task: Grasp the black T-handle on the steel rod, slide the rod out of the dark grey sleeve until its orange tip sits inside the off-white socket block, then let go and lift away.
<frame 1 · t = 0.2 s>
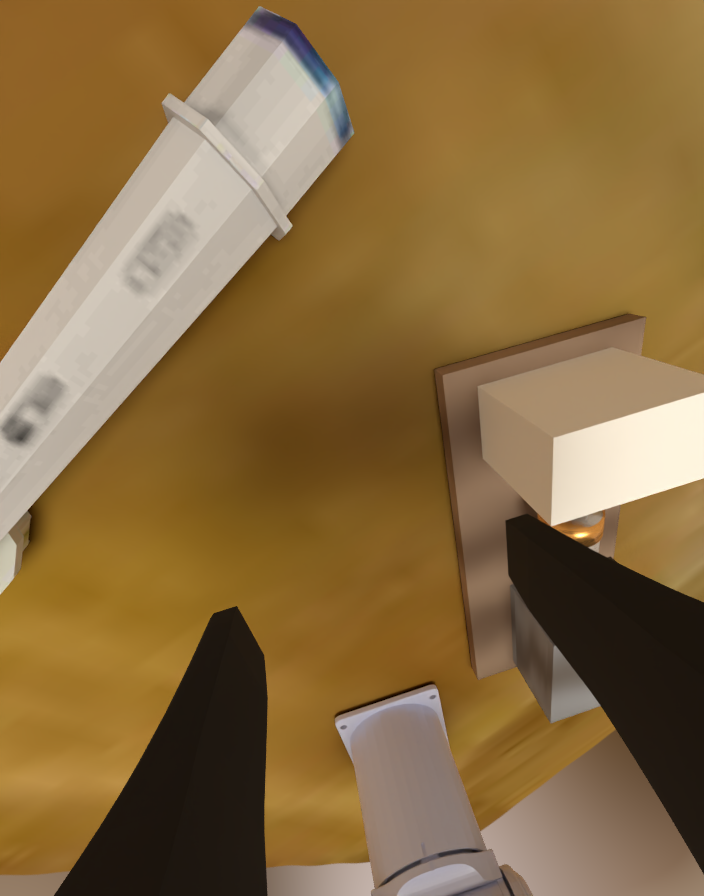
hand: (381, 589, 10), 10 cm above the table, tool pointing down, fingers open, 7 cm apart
track base: (533, 529, 25), on the table
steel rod: (593, 636, 21), point 6 cm above the table, slide at 0.0 cm
toothbrush head: (97, 365, 16), on the table
socket block: (533, 398, 21), resting on track base
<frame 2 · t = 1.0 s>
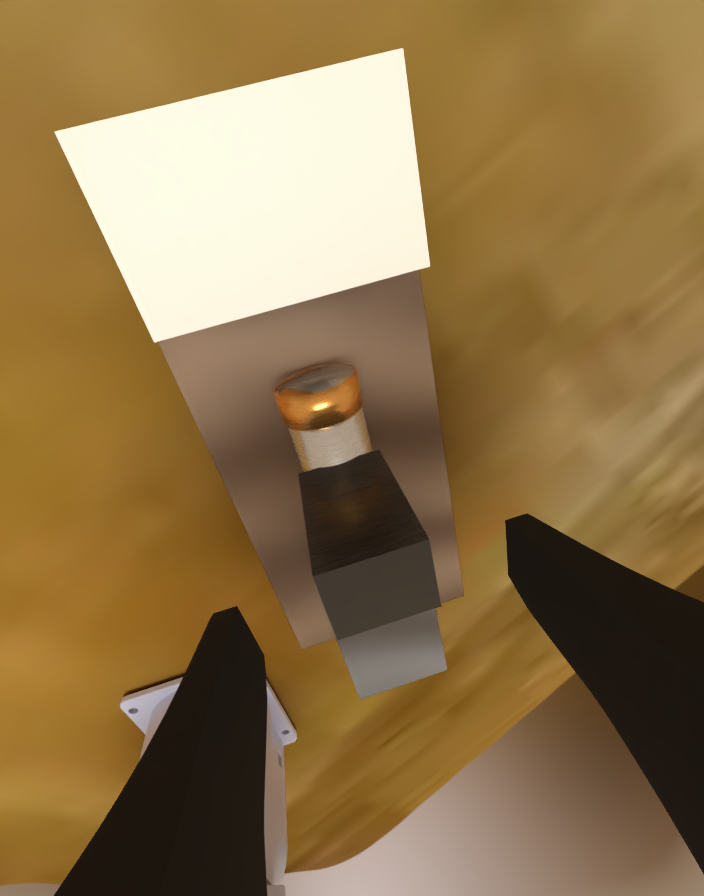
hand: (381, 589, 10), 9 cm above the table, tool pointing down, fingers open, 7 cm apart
track base: (330, 439, 19), on the table
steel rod: (370, 568, 15), point 6 cm above the table, slide at 0.0 cm
socket block: (266, 223, 14), resting on track base
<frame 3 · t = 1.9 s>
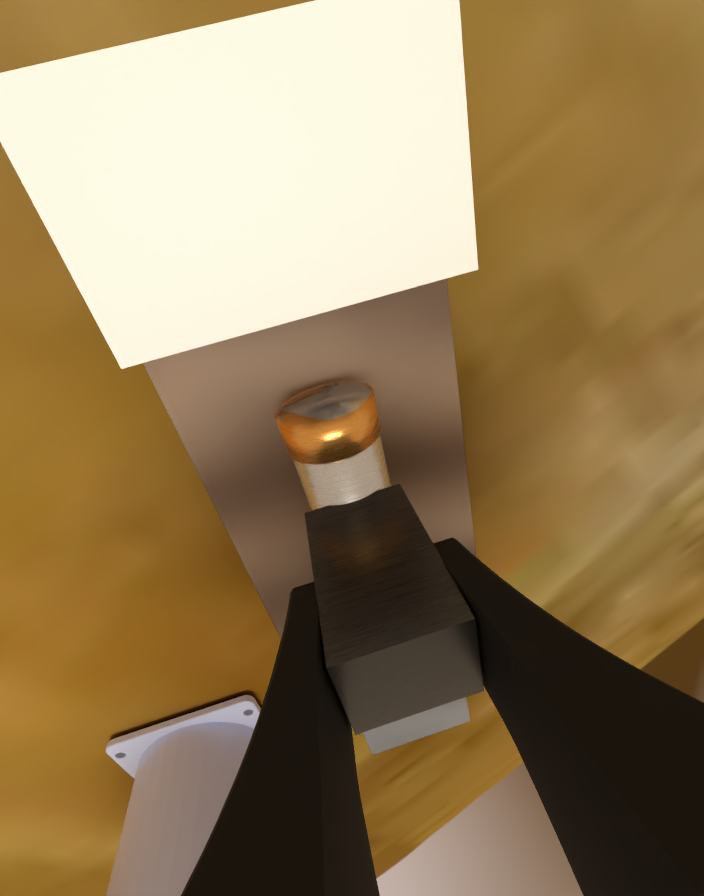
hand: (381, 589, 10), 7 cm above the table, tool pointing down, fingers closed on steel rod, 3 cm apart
track base: (339, 462, 16), on the table
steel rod: (388, 620, 13), point 6 cm above the table, slide at 0.0 cm, touching gripper
socket block: (267, 217, 12), resting on track base
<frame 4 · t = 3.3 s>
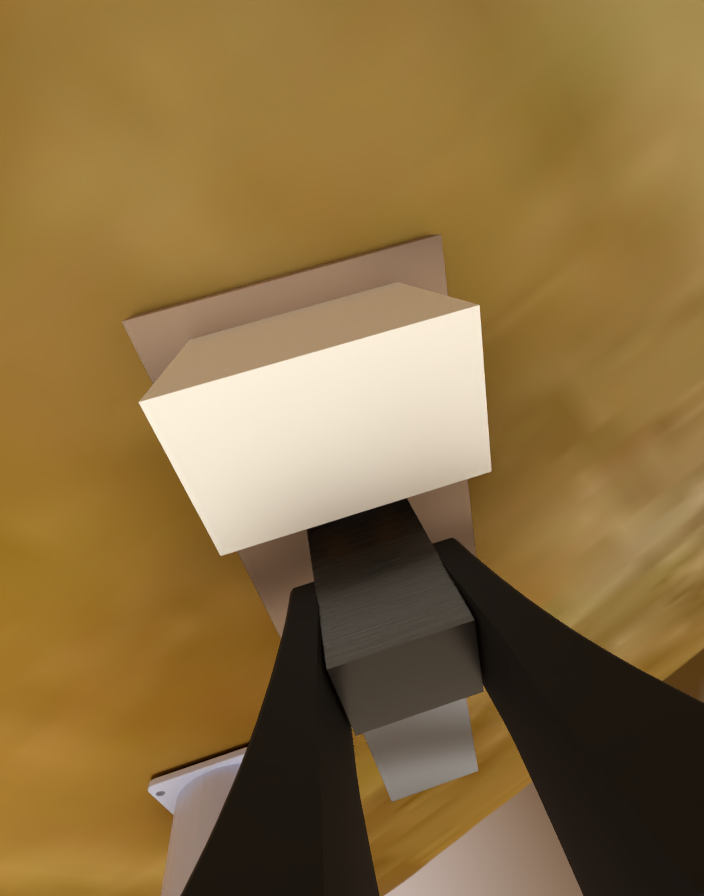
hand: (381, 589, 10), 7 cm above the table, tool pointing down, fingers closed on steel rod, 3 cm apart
track base: (362, 545, 19), on the table
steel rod: (388, 621, 13), point 6 cm above the table, slide at 4.6 cm, touching gripper
socket block: (309, 362, 14), resting on track base
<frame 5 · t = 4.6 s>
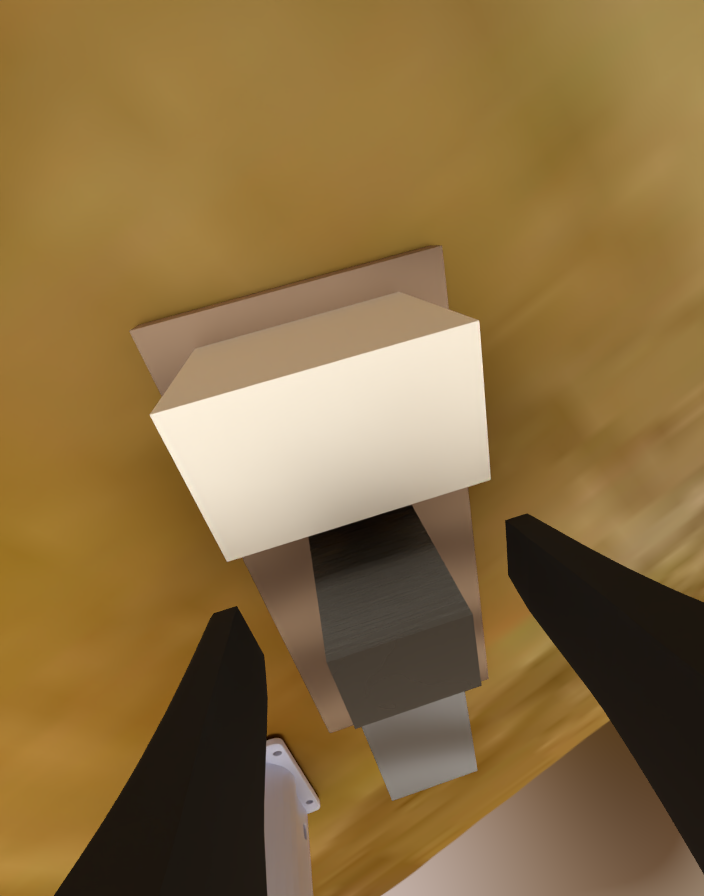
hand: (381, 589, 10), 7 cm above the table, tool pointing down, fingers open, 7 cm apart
track base: (364, 548, 19), on the table
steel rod: (387, 617, 13), point 6 cm above the table, slide at 4.9 cm
socket block: (312, 369, 15), resting on track base
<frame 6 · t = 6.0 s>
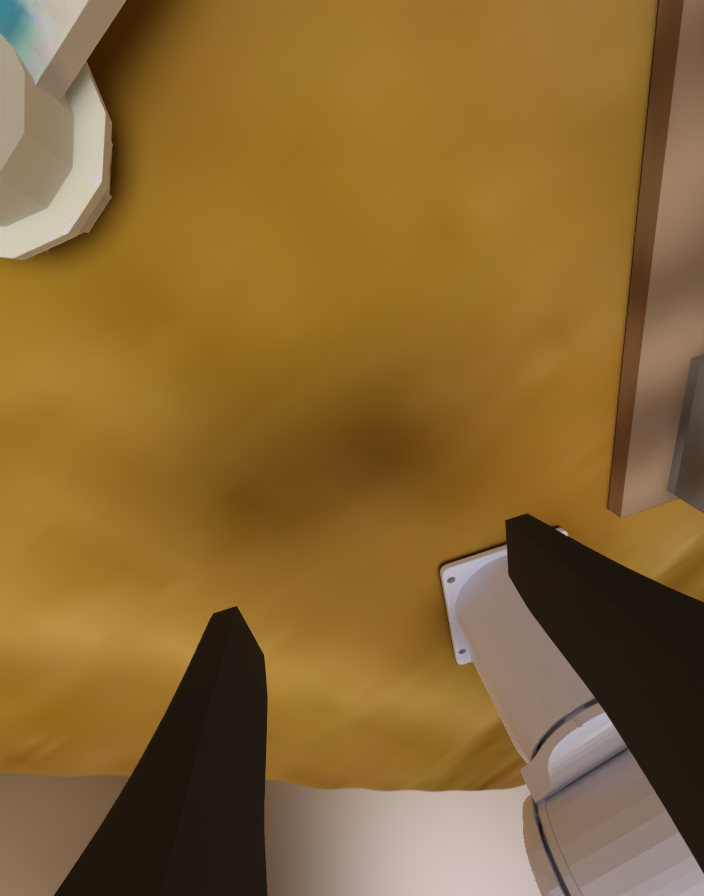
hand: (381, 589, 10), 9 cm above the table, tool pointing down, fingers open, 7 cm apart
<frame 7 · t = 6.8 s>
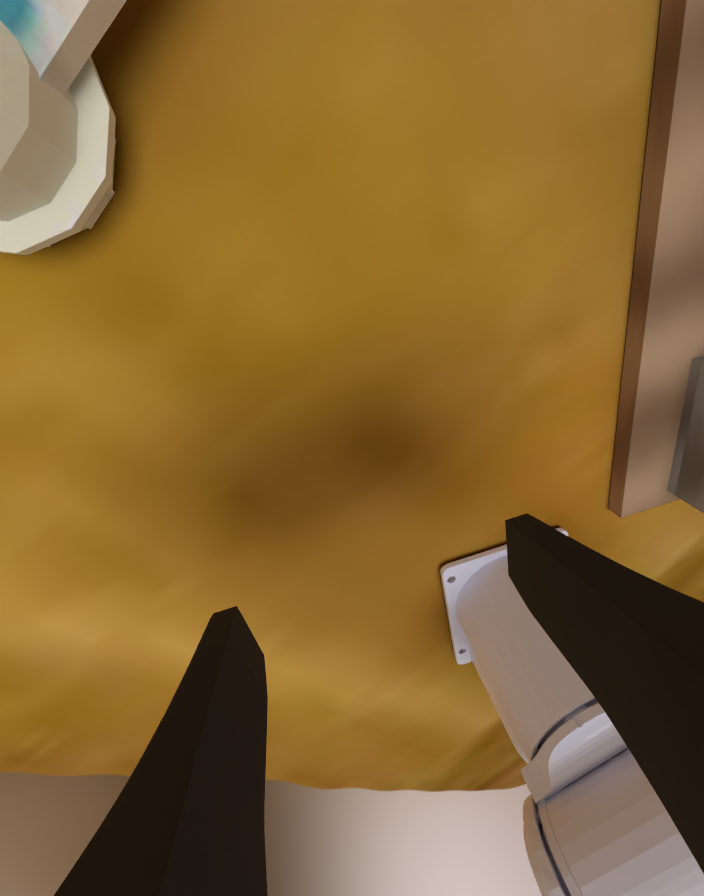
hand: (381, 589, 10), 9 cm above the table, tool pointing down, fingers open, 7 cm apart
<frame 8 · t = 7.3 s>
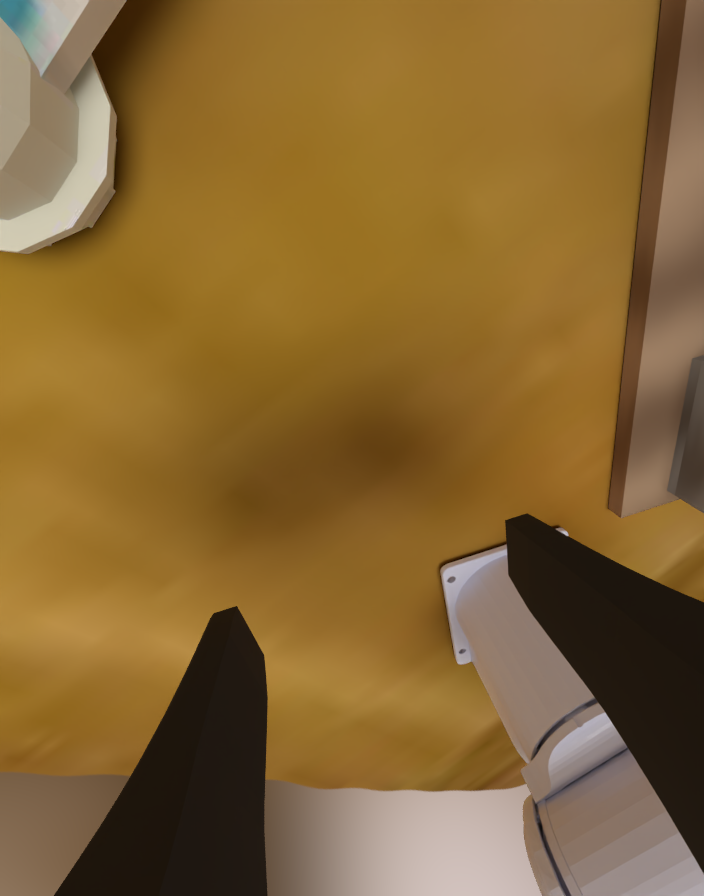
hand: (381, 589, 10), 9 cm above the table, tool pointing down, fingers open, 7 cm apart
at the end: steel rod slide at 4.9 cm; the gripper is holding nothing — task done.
